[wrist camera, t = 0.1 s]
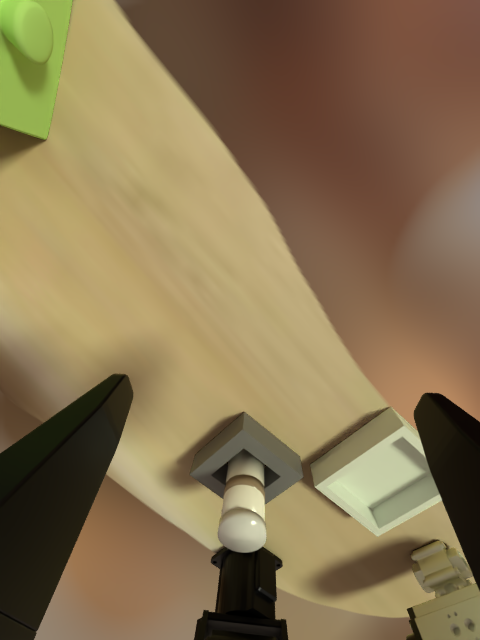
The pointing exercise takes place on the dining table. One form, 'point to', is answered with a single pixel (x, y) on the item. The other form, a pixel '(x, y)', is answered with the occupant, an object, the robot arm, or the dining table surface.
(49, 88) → the gearbox
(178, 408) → the dining table surface
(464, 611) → the pneumatic valve
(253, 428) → the grey square frame
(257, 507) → the white light bulb
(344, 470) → the parts tray
